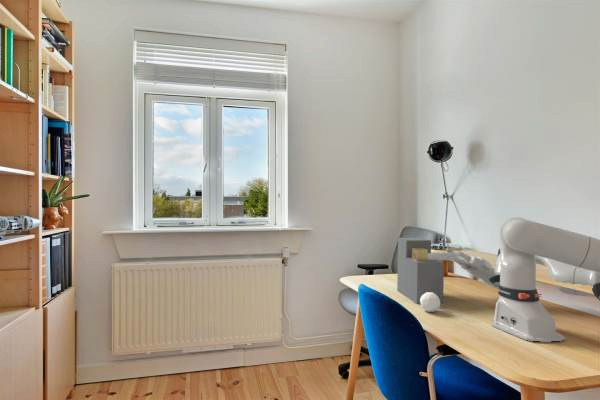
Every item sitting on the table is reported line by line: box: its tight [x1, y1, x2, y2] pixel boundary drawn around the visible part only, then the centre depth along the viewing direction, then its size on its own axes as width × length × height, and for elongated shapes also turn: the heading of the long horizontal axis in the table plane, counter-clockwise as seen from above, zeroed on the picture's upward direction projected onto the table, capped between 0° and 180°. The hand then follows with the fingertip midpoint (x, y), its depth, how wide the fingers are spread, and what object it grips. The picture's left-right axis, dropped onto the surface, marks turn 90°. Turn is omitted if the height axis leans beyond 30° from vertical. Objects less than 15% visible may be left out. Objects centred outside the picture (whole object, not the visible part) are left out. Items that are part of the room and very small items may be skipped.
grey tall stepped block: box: [396, 237, 445, 305], centre depth 167 cm, size 22×12×26 cm, turn 7°
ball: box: [419, 292, 441, 313], centre depth 145 cm, size 8×8×8 cm
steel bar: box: [412, 248, 458, 261], centre depth 162 cm, size 5×20×5 cm, turn 96°
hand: (452, 251), depth 164 cm, fingers open, 8 cm apart
